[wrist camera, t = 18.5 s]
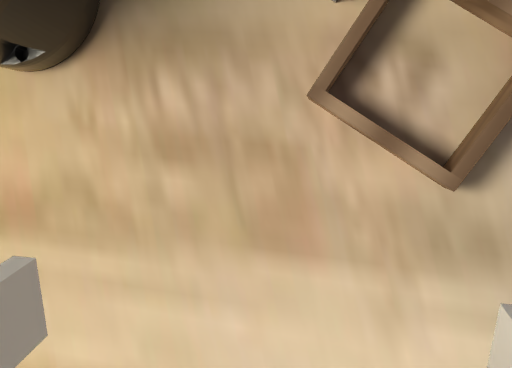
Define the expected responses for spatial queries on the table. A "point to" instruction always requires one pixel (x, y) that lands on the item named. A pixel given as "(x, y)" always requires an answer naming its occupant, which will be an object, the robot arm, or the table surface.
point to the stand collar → (449, 176)
